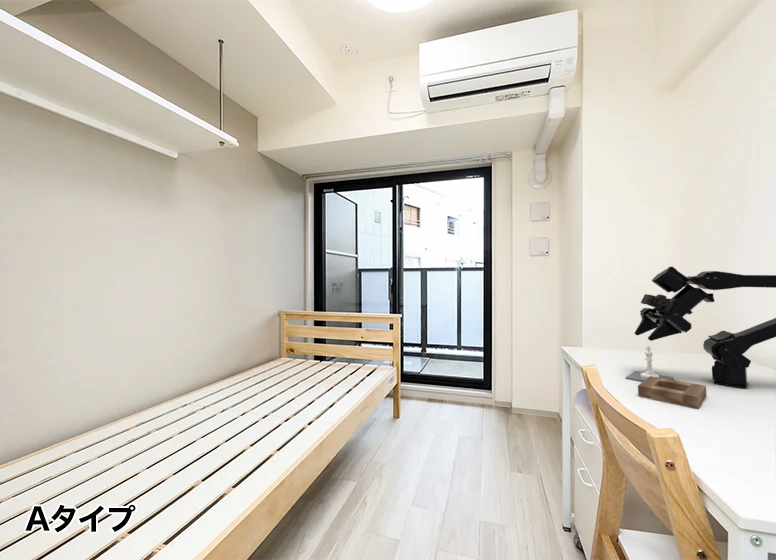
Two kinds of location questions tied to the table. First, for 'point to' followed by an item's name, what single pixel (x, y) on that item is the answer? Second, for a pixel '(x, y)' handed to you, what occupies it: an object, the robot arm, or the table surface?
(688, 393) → the socket block
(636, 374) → the slate mat
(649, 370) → the chess piece
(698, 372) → the table surface
